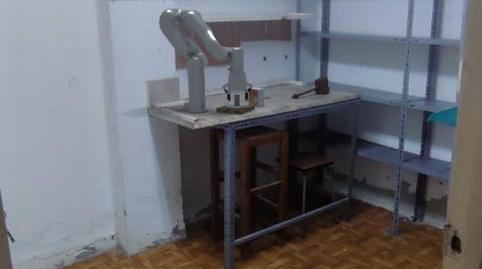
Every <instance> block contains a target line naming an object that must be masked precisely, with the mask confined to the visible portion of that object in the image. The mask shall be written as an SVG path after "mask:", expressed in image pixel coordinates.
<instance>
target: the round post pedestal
mask: <svg viewBox="0 0 482 269" xmlns="http://www.w3.org/2000/svg"><path fill="white" fill-rule="evenodd" d="M233 95H234V97H233V99H234V100H233V102H231V101H230V102H226V103H225V104H224V106H225V107H226V108H229V109H242V108H246V105H247V103H246V102H241V99H240V98H241V96H240V95H241V94H233Z"/></svg>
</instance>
